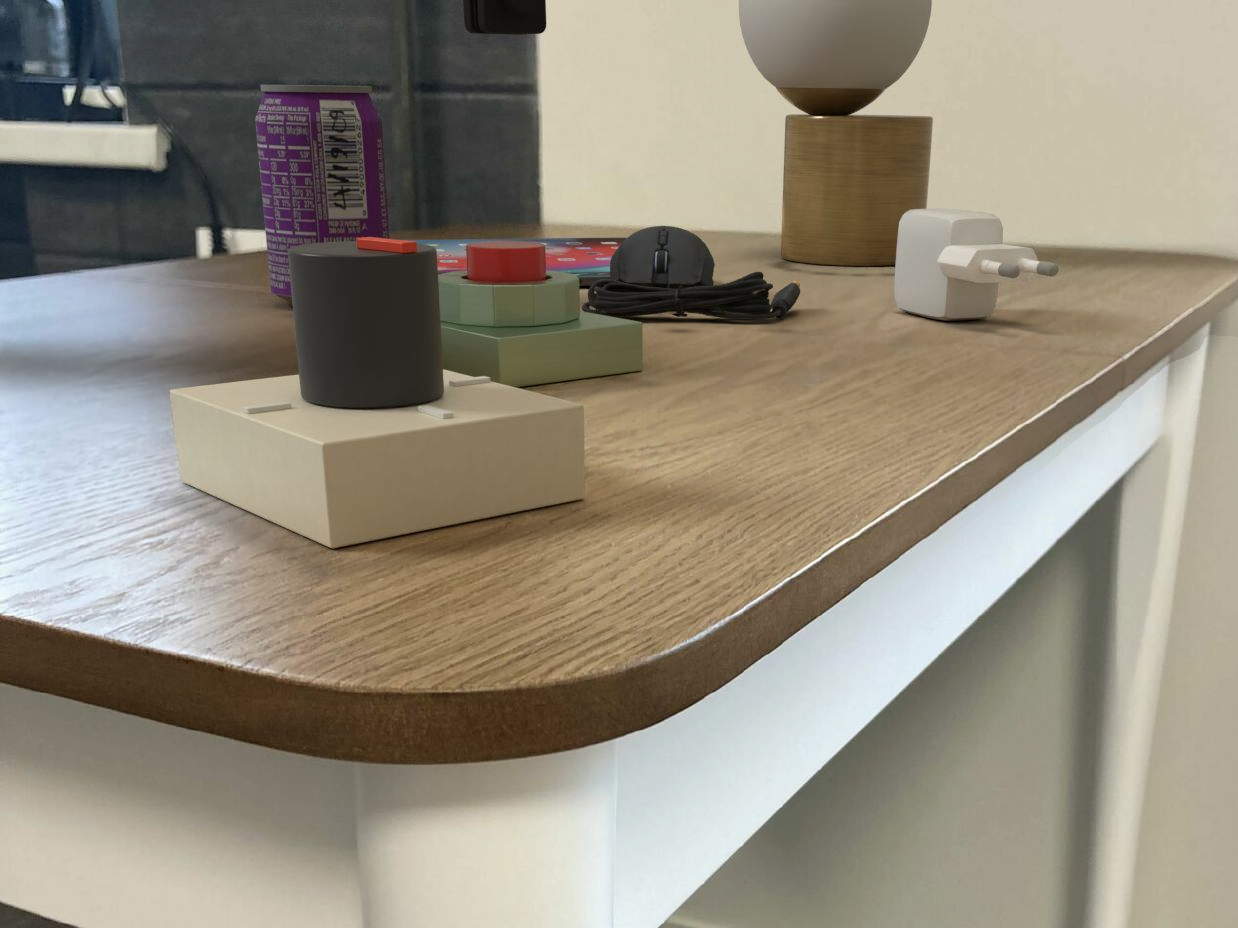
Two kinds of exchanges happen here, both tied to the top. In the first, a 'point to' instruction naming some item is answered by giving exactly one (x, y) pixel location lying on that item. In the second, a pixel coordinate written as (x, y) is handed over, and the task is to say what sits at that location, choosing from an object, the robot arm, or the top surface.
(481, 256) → the power button
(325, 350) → the knob
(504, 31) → the robot arm
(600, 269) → the tablet
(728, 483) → the top surface
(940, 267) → the power adapter
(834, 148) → the lamp
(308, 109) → the beverage can
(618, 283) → the computer mouse
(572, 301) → the switch block
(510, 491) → the control box
